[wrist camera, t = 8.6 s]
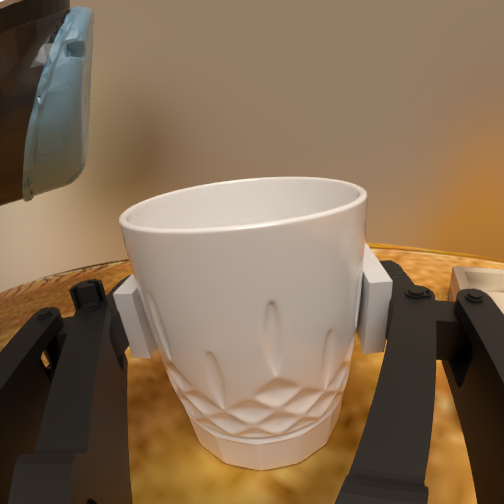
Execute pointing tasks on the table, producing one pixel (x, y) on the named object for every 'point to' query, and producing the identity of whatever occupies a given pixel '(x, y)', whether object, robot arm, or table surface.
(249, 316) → the white cup
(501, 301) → the birch tray
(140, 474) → the table surface
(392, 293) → the robot arm
